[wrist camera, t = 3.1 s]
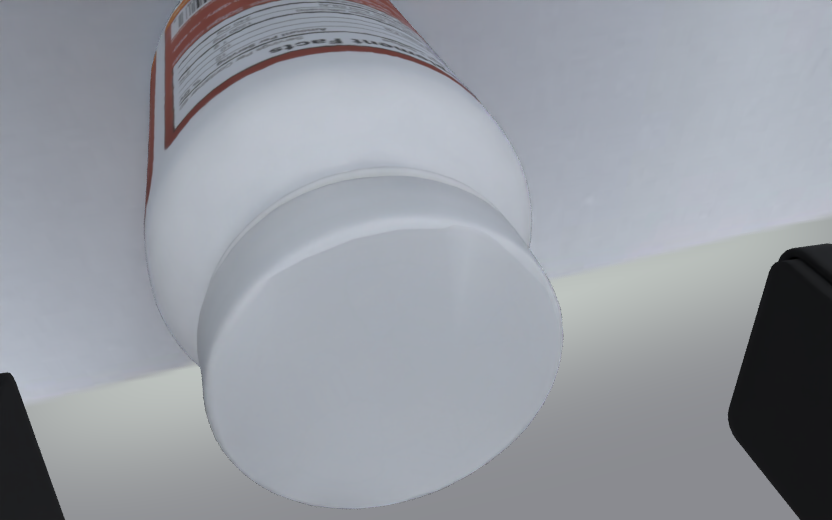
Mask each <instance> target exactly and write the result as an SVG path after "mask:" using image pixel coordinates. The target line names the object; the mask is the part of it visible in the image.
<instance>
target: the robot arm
mask: <svg viewBox="0 0 832 520" xmlns="http://www.w3.org/2000/svg"><path fill="white" fill-rule="evenodd" d="M728 421H729V426H730V429H731V431H732V434H733V435H734V437H735V438H736V440H737V441H738V442H739V443H740V445H741V446H742V447H743V448H744V449H745V451H746V452H747V453H748V455H749V456H750V457H751V458H752V460H753V461H754V462H755V463H756V465H757V466H758V467H759V468H760V470H761V471H762V472H763V473H764V475H765V476H766V477H767V479H768V480H769V481H770V482H771V484H772V485H773V486H774V487H775V489H776V490H777V491H778V492H779V494H780V495H781V496H782V497H783V498H784V500H785V501H786V502H787V504H788V505H789V506H790V507H791V509H792V510H793V511H794V512H795V514H796V515H797V516H798V517H799V519H800V520H832V244H820V245H814V246H806V247H799V248H792V249H789V250H787V251H785V252H784V253H783V254H782V255H781V257H780V259H779V261H778V262H776V263H775V264H774V265H773V266H772V267H771V269H770V271H769V275H768V278H767V281H766V285H765V288H764V291H763V295H762V298H761V301H760V305H759V308H758V312H757V315H756V318H755V322H754V325H753V329H752V332H751V335H750V339H749V342H748V346H747V349H746V352H745V356H744V359H743V363H742V366H741V369H740V373H739V376H738V380H737V383H736V386H735V390H734V393H733V396H732V400H731V403H730V407H729V412H728ZM0 520H65V519H64V516H63V513H62V510H61V508H60V505H59V502H58V499H57V496H56V494H55V491H54V488H53V485H52V483H51V480H50V477H49V474H48V471H47V468H46V466H45V463H44V460H43V457H42V454H41V452H40V449H39V446H38V443H37V441H36V438H35V435H34V432H33V429H32V426H31V424H30V421H29V418H28V415H27V412H26V409H25V407H24V404H23V401H22V398H21V395H20V393H19V390H18V387H17V384H16V382H15V380H14V377H13V376H12V375H11V373H0Z"/></svg>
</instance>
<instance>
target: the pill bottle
mask: <svg viewBox="0 0 832 520" xmlns="http://www.w3.org/2000/svg"><path fill="white" fill-rule="evenodd" d="M531 230H532V211H531V201H530V195H529V190H528V185H527V180H526V177H525V174H524V171H523V168H522V166H521V164H520V161H519V159H518V157H517V155H516V153H515V151H514V149H513V147H512V145H511V143H510V141H509V140H508V138H507V137H506V135H505V133H504V132H503V130H502V129H501V128H500V126H499V125H498V123H497V122H496V121H495V120H494V119H493V117H492V116H491V115H490V114H489V112H488V111H487V110H486V109H485V107H484V106H483V105H482V104H481V103H480V102H479V100H478V99H477V98H476V96H475V95H473V94H472V93H471V92H470V91H469V90H468V88H467V87H466V86H465V85H464V84H463V83H462V82H461V81H460V80H459V79H458V78H457V76H456V75H455V74H454V73H453V72H452V71H451V70H450V69H449V68H448V66H447V65H446V64H445V63H444V62H443V61H442V60H441V59H440V57H439V56H438V55H437V54H436V53H435V52H434V51H433V50H432V48H431V47H430V46H429V45H428V44H427V43H426V41H425V40H424V39H423V38H422V37H421V36H420V35H419V34H418V33H417V31H416V30H415V29H414V28H413V27H412V26H411V25H410V24H409V22H408V21H407V20H406V19H405V18H404V17H403V16H402V15H401V13H400V12H399V11H398V10H397V9H396V8H395V7H394V6H393V4H392V3H391V2H390V1H389V0H181V1H180V2H179V4H178V5H177V6H176V8H175V9H174V11H173V12H172V14H171V15H170V17H169V19H168V21H167V23H166V24H165V26H164V28H163V30H162V33H161V36H160V38H159V41H158V44H157V48H156V51H155V55H154V61H153V65H152V70H151V82H150V122H149V144H148V167H147V187H146V203H145V218H144V239H145V251H146V261H147V268H148V273H149V278H150V282H151V287H152V291H153V294H154V298H155V301H156V305H157V307H158V309H159V312H160V314H161V316H162V318H163V320H164V322H165V324H166V326H167V327H168V329H169V331H170V332H171V334H172V336H173V337H174V339H175V340H176V342H177V343H178V344H179V346H180V347H181V348H182V349H183V350H184V352H185V353H186V354H187V355H188V356H189V357H190V358H191V359H192V360H193V361H194V362H195V363H196V364H197V365H198V366H199V367H200V369H201V374H202V385H203V399H204V405H205V411H206V414H207V417H208V421H209V424H210V427H211V429H212V431H213V434H214V437H215V439H216V441H217V442H218V444H219V445H220V447H221V449H222V451H223V452H224V453H225V454H226V456H227V457H228V458H229V459H230V461H231V462H232V463H233V464H234V465H235V466H236V467H237V468H239V470H240V471H241V472H243V473H244V474H245V475H246V476H247V477H248V478H250V479H251V480H252V481H254V482H255V483H256V484H258V485H260V486H262V487H263V488H265V489H267V490H268V491H270V492H272V493H274V494H277V495H280V496H282V497H285V498H287V499H290V500H293V501H296V502H299V503H303V504H307V505H310V506H320V507H326V508H337V509H364V508H373V507H381V506H387V505H392V504H396V503H401V502H405V501H408V500H412V499H416V498H420V497H423V496H425V495H428V494H431V493H434V492H436V491H439V490H441V489H443V488H445V487H447V486H450V485H452V484H454V483H455V482H457V481H459V480H461V479H463V478H465V477H467V476H468V475H470V474H472V473H473V472H475V471H476V470H478V469H479V468H481V467H482V466H484V465H486V464H487V463H488V462H490V461H491V460H492V459H494V458H495V457H496V456H497V455H499V454H500V453H501V452H502V451H504V450H505V449H506V448H507V447H508V446H509V445H511V444H512V443H513V442H514V441H515V440H516V439H517V438H518V437H519V436H520V434H522V432H523V431H524V430H525V429H526V428H527V427H528V426H529V424H530V423H531V421H532V420H533V419H534V417H535V416H536V414H537V413H538V411H539V410H540V408H541V407H542V405H543V404H544V402H545V400H546V398H547V396H548V394H549V392H550V390H551V388H552V386H553V384H554V381H555V378H556V374H557V371H558V368H559V364H560V359H561V354H562V347H563V328H562V314H561V309H560V306H559V302H558V300H557V297H556V294H555V292H554V289H553V287H552V285H551V283H550V281H549V279H548V277H547V275H546V274H545V272H544V270H543V269H542V267H541V266H540V264H539V263H538V261H537V260H536V258H535V257H534V255H533V254H532V252H531V251H530V249H529V248H530V241H531Z"/></svg>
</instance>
